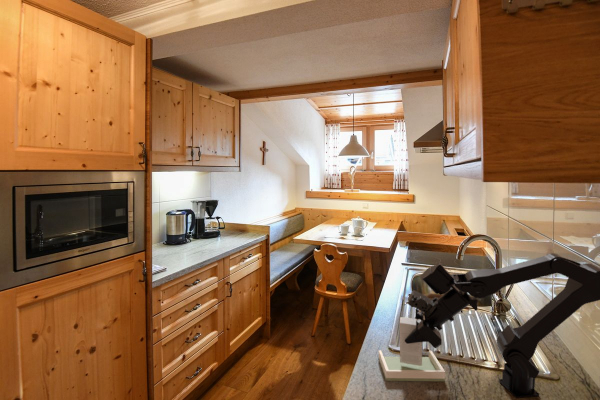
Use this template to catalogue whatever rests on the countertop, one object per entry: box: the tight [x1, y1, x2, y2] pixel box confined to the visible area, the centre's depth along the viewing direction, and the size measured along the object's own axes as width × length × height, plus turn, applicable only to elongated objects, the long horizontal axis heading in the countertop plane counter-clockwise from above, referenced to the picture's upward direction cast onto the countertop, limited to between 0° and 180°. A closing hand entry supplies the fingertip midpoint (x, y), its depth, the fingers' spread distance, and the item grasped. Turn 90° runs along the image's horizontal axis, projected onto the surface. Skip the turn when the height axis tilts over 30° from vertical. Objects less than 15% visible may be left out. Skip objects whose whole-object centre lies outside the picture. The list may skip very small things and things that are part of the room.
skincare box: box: [399, 316, 423, 366], centre depth 91 cm, size 6×4×12 cm
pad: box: [378, 350, 446, 382], centre depth 92 cm, size 16×10×3 cm, turn 88°
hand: (405, 337), depth 92 cm, fingers closed on skincare box, 4 cm apart
